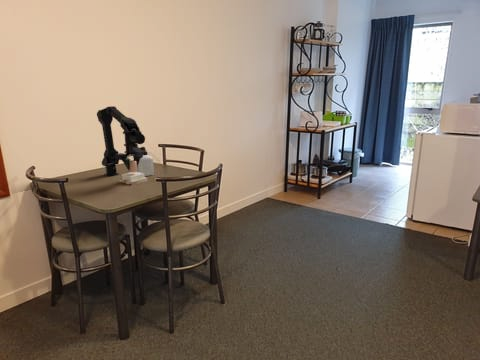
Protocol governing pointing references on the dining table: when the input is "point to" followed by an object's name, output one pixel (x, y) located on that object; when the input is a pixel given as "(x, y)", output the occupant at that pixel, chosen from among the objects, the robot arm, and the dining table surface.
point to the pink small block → (133, 166)
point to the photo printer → (146, 166)
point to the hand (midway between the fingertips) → (132, 169)
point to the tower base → (133, 181)
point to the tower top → (133, 176)
